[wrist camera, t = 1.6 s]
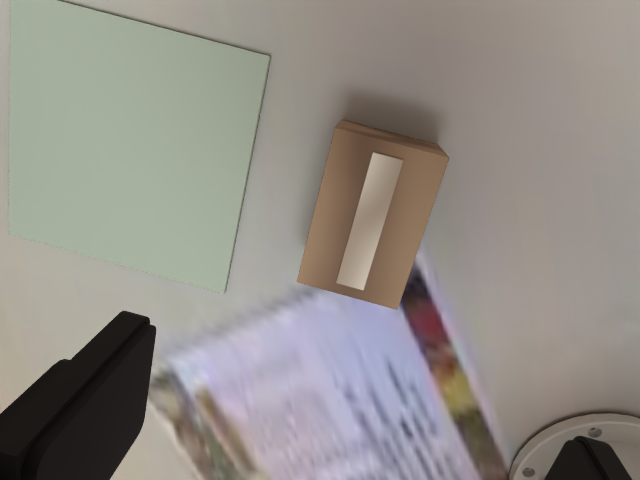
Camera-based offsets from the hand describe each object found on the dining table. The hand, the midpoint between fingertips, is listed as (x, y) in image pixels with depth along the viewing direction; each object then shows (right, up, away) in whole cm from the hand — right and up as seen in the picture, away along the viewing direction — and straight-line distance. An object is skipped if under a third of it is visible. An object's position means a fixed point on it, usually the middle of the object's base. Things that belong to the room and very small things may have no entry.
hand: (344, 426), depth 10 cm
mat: (-13, +10, +20) cm, 26 cm away
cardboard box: (+3, +7, +20) cm, 21 cm away
